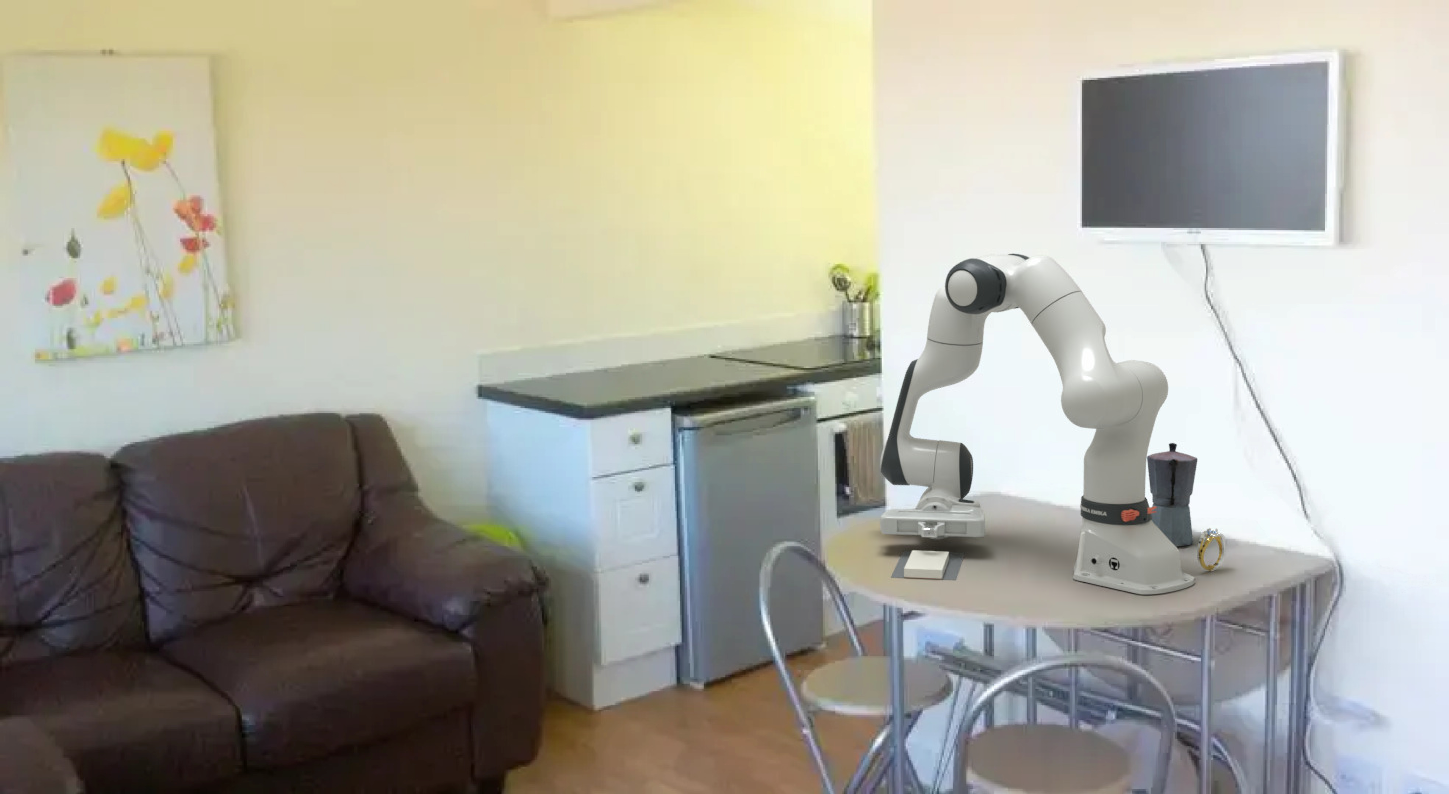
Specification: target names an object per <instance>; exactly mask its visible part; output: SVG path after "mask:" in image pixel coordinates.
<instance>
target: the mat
mask: <svg viewBox="0 0 1449 794" xmlns="http://www.w3.org/2000/svg"><path fill="white" fill-rule="evenodd" d="M911 552H912V550H903V551H902V553H901V554H900V557H899V559H898V561H897V563H896V565H895V567H894V569H893V572H892V573H891V576H890V578H892V579H906V578H905V577H904V567H905V565H906V563H907V561H908V559H909V557H910V554H911ZM948 552H949V561H948V564H947V567H946V569H945V572H944V575H943V578H942V579H934V581H935V580H937V581H938V580H939V581H943V580H944V581H957V579H958V575H959V572H960V569H961V566H962V564H963V560H964V558H965V557H964V556H965V554H966V553H965V552H950V551H948ZM909 579H911V580H912V579H913V580H914V579H916V580H923V579H922V578H909Z"/></svg>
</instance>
